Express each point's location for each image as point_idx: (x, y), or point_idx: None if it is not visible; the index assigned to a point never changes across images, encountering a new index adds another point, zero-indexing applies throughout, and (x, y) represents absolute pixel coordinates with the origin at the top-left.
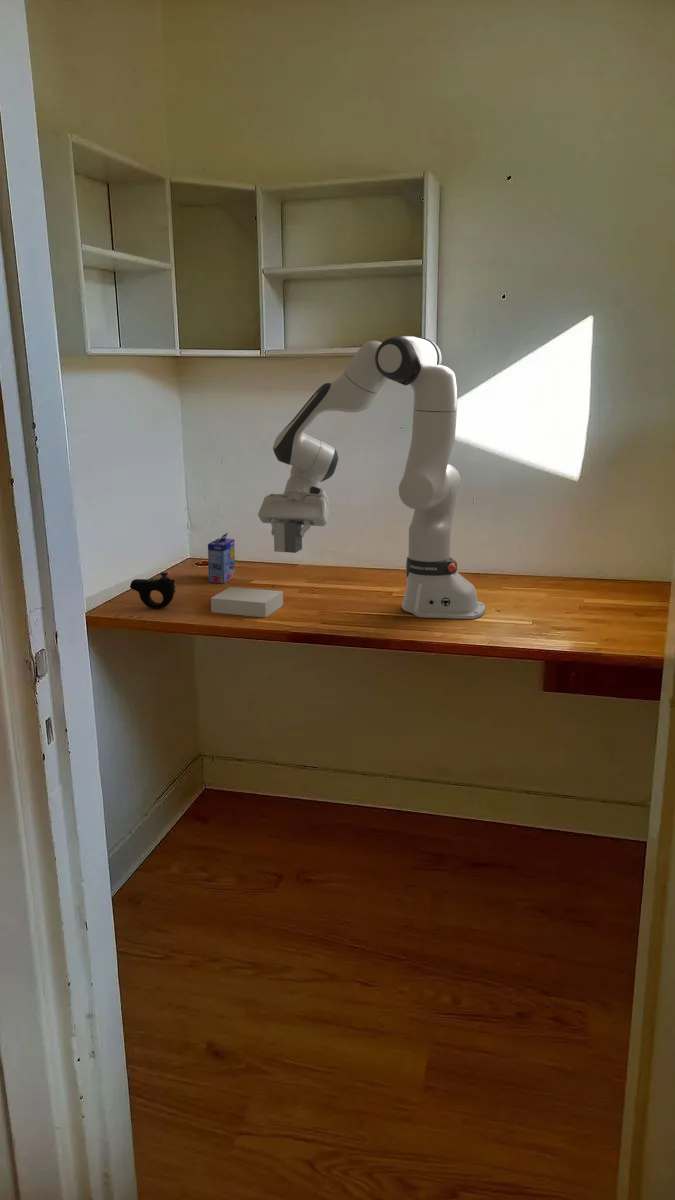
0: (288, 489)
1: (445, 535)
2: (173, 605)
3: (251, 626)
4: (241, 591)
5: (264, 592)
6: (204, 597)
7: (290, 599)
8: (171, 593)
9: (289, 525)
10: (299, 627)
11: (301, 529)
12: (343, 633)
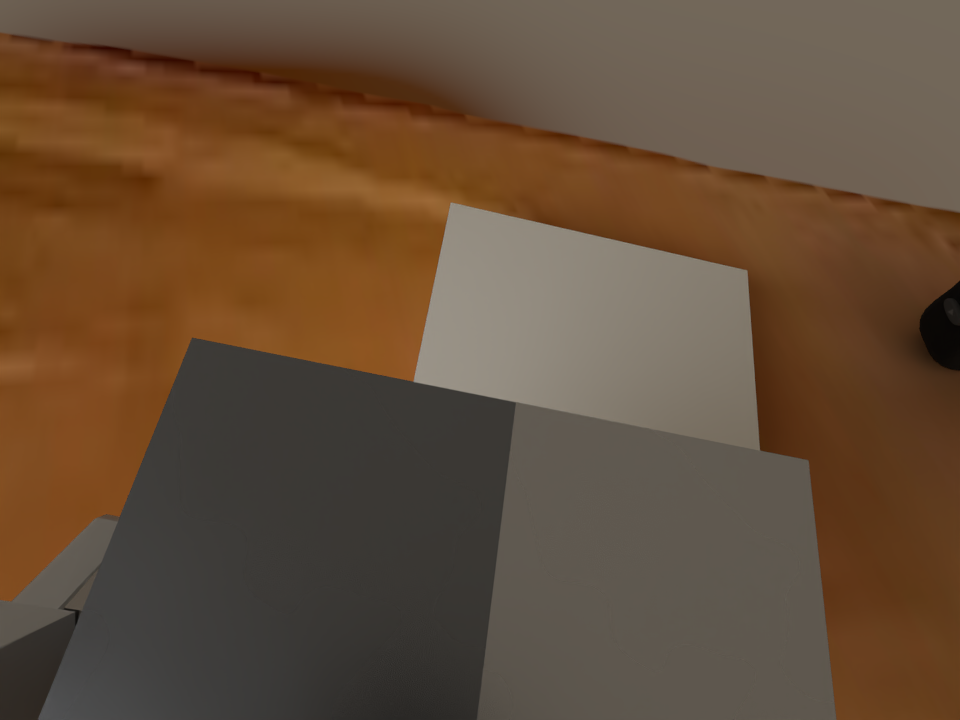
0: None
1: None
2: (918, 396)
3: (470, 144)
4: (653, 399)
5: (513, 390)
6: (875, 557)
7: None
8: (946, 294)
9: (359, 380)
10: (261, 132)
11: (60, 596)
12: (52, 65)
